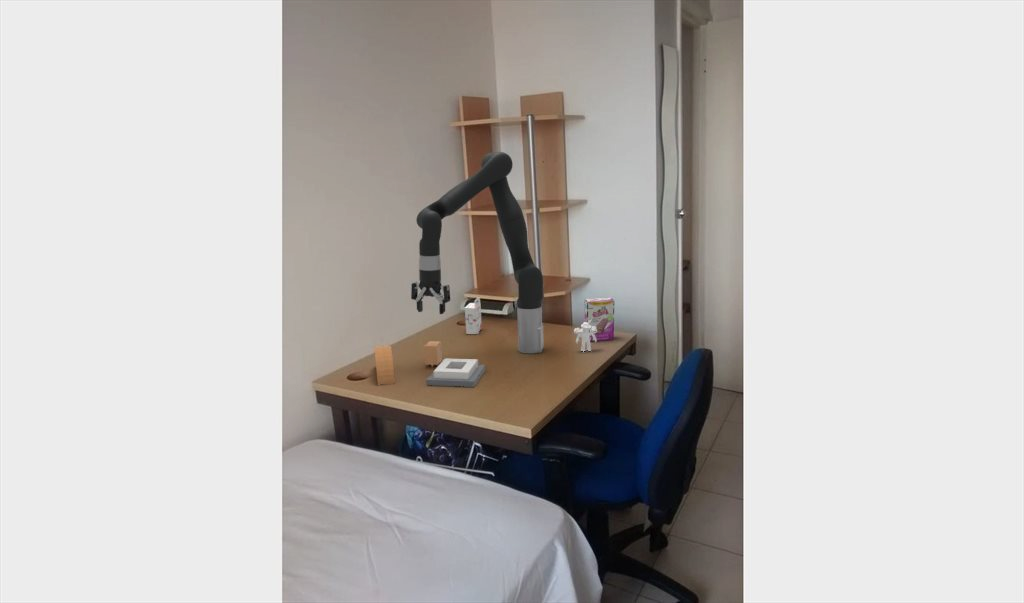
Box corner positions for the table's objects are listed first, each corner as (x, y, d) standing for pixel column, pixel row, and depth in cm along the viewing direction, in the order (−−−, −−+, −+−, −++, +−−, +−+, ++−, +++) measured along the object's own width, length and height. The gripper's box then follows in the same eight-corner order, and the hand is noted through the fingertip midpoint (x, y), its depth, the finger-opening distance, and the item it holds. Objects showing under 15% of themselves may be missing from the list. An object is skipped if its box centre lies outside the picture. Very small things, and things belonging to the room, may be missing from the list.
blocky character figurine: (595, 348, 243) (595, 317, 241) (599, 351, 240) (599, 320, 237) (572, 350, 242) (572, 320, 239) (576, 353, 238) (575, 322, 235)
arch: (392, 365, 233) (390, 338, 231) (394, 384, 214) (392, 355, 212) (376, 366, 232) (374, 340, 229) (377, 386, 213) (374, 357, 210)
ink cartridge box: (470, 329, 275) (469, 295, 271) (482, 329, 274) (480, 295, 270) (465, 334, 267) (463, 300, 263) (477, 335, 266) (475, 300, 262)
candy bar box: (587, 342, 251) (586, 301, 247) (583, 338, 256) (583, 298, 252) (614, 340, 252) (614, 299, 249) (611, 336, 257) (611, 297, 253)
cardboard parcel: (442, 362, 233) (441, 341, 232) (437, 367, 228) (436, 346, 226) (430, 362, 234) (429, 341, 232) (425, 367, 229) (424, 345, 227)
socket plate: (485, 370, 223) (484, 358, 222) (473, 387, 208) (473, 374, 207) (441, 368, 227) (440, 356, 226) (426, 385, 211) (426, 372, 210)
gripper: (453, 267, 224) (453, 312, 227) (417, 264, 229) (418, 308, 232) (443, 270, 217) (444, 317, 221) (406, 268, 222) (408, 313, 226)
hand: (431, 312), depth 227 cm, fingers open, 8 cm apart
